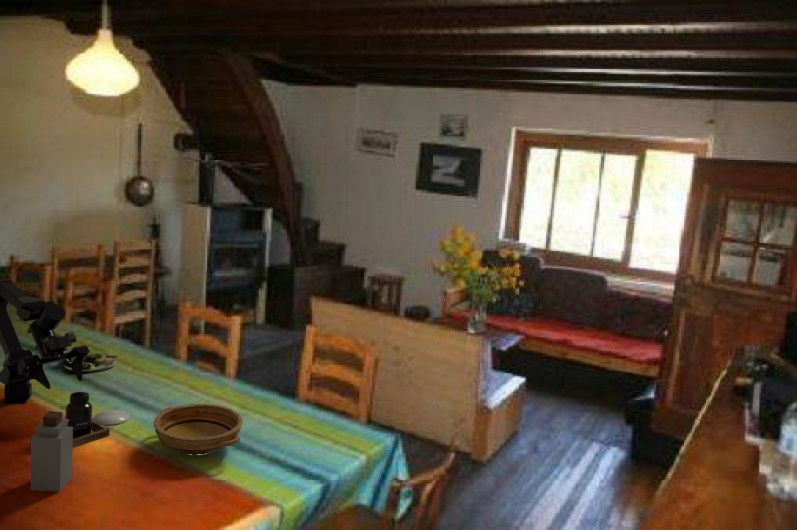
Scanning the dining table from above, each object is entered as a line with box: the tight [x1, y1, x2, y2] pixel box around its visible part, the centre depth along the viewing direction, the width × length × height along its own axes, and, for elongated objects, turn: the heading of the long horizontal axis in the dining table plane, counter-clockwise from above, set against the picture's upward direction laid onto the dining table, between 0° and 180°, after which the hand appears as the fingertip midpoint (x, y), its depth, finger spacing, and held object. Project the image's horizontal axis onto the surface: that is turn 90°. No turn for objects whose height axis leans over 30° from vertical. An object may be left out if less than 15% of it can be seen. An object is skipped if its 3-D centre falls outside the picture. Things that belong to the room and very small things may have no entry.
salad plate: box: [59, 351, 118, 375], centre depth 237 cm, size 19×18×5 cm
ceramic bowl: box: [153, 403, 244, 456], centre depth 183 cm, size 30×24×8 cm
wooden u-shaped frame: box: [73, 418, 111, 448], centre depth 183 cm, size 11×12×2 cm
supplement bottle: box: [64, 391, 93, 439], centre depth 183 cm, size 7×7×12 cm
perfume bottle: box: [30, 410, 74, 493], centre depth 156 cm, size 7×7×18 cm
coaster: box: [93, 409, 131, 426], centre depth 196 cm, size 10×10×1 cm
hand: (65, 384), depth 185 cm, fingers open, 9 cm apart
